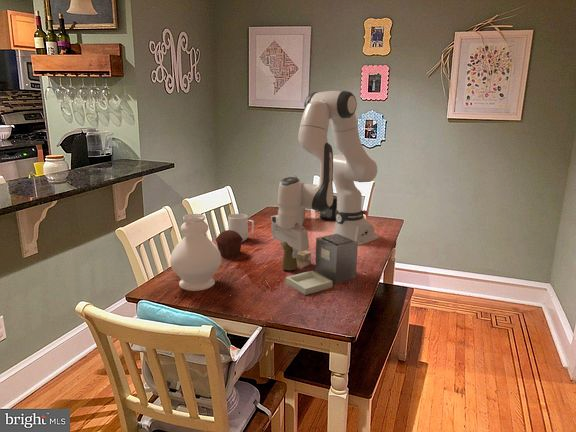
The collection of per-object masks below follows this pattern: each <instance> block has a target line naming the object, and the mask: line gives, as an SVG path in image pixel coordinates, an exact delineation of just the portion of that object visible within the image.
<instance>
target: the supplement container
mask: <svg viewBox="0 0 576 432" xmlns="http://www.w3.org/2000/svg"><path fill="white" fill-rule="evenodd" d="M333 196H334V199H333V204H332V206H331V207H330V208H329V209H328V210H326V211H324V212H319V218H320V220H322V221H325V222H336V217H335V216H336V209H337V195H334V194H333Z"/></svg>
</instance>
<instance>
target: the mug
mask: <svg viewBox="0 0 576 432" xmlns="http://www.w3.org/2000/svg"><path fill="white" fill-rule="evenodd" d="M248 218H249V215H247V214H245V213H232V214H229V215H227V224H228V225H227V226H228V229H227V230H233V231H235V232H237V233H238V234H239V235H240V236H241V237H242V238H243V240H242V242H245V241H246V240H247V239H248V237H249V236H250V235H252V234H253V233H254V226H255V223H254V222H255V221H254V220H252V219H248ZM249 222H251V232H250V233H249Z"/></svg>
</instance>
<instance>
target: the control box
mask: <svg viewBox="0 0 576 432" xmlns="http://www.w3.org/2000/svg"><path fill="white" fill-rule="evenodd" d="M315 239H316V240H315V271H314V272H316V273H318V274H320V275H322V276H324V277H326V278H328V279H329V280H331V281H333V283H334V284H339V283H342V282H346V281H349V280H352V279H356V278H357V269H358V249H359V247H358V246H359V245H358V242H356V241H354V240H352V239H349V238H347V237H344V236H342V235H339V234H334V233H333V234H328V235H324V236H320V237H316V238H315Z"/></svg>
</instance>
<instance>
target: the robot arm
mask: <svg viewBox="0 0 576 432" xmlns="http://www.w3.org/2000/svg"><path fill="white" fill-rule="evenodd" d="M356 98H357V97H356V96H355V95H354V93H352V92H350V91H347V90H341V91H340V90H328V91H326V90H325V91H319V92H318V91H315V92H312V93H309V94H308V95H307V96H306V98H305V100H304V104H303V107H304V110H303V113H302V117H301V120H300V124H299V130H298V134H297V135H298V136H297V139H298V144H299V145H300V146H301V148H302V149H303V150H304V151H306V152H307V153H309V154H311V155H313V156H315V157H316V158H317V159H318V161H319V183H318V184H312V183H307V182H302V181H301V180H300V179H299V178H298V177H297V178H296V177H294V176H288V177H285V178H281V180H280V181H279V184H278V188H277V189H278V191H277V203H278V210H277V214H276V215H271V216H270V221H271V236H272V238H273V239H275V240H277V241H279V242H280V245H281V249H282V253H283V254H284V247H283V242H287V243H288V245H289V246H291V247H293V253H291V257H293V258H297V253H298V251H308V250H309V247H310V245H309V244H310V243H309V234H308V231H307V229H305V228H306V227H304V226H303V225H302V226H301V208H305V210H313V211H316V212H319V213H320V212H324V211H326V210H328V209H329V208H330V207H331V206H332V204H333V199H334V196H333V195H334V188H333V187H334V186H335V191H336V196H337V209H336V216H335V217H336V220H335V223H334V231H333V234H339V235H342V236H344V237H347V238H349V239H352V240H354V241H356V242H358V246H362V245H365V244H368V243H370V242H372V241H375V240H378V239H379V238H380V237H379V235H378V234H377V233H375V227H374V225H373V224H372V222H370V221H368V220H367V218H366V217H364V216H367V215H368V214H369V211H368V210H364V209H362V197H363V195H362V192H361V191H360V190H359V189H358V188H357V185H355V182H357V183H369V182H373V180H375V178H376V177H377V174H378V165H377V162H376V161H375V160H373V159H372V158H371V157H370V156H369V155H368V154H367V152H366V150H365V149H364V146H363V144H362V142H361V139H360V133H359V127H358V119H357V115H356V110H357V105H358V104H357V99H356ZM329 124H330V125H331V133H332V138H333V144H334V147H335V148H336V149H337V150H338V151H339V152H340V154H339V153H338V154H334V153H333V147H332V145H331V144H330V143H329V141H328V133H329V132H328V131H329V126H330V125H329ZM333 184H334V186H333Z"/></svg>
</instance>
